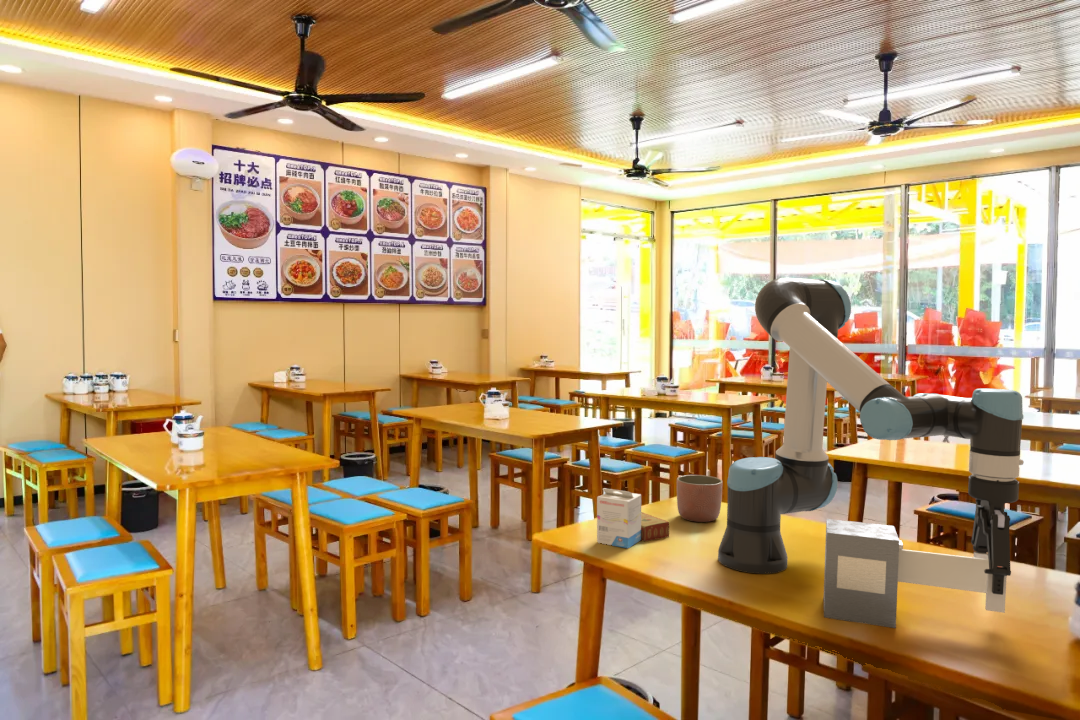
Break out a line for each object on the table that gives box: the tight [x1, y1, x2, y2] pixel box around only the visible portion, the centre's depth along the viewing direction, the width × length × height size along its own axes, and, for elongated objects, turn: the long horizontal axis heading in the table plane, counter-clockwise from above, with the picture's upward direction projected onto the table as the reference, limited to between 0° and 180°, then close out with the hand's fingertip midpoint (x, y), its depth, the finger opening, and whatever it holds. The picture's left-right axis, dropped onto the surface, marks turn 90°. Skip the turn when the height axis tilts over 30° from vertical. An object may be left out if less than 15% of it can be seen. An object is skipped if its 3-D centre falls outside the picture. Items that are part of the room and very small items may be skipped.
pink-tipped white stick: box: [898, 548, 1002, 594], centre depth 129 cm, size 18×1×6 cm, turn 69°
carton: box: [640, 511, 670, 542], centre depth 186 cm, size 8×16×4 cm, turn 31°
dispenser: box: [823, 518, 904, 629], centre depth 134 cm, size 13×10×16 cm
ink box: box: [596, 487, 642, 549], centre depth 176 cm, size 9×8×13 cm
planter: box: [676, 474, 724, 523], centre depth 198 cm, size 12×12×11 cm
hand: (987, 598), depth 127 cm, fingers open, 10 cm apart
